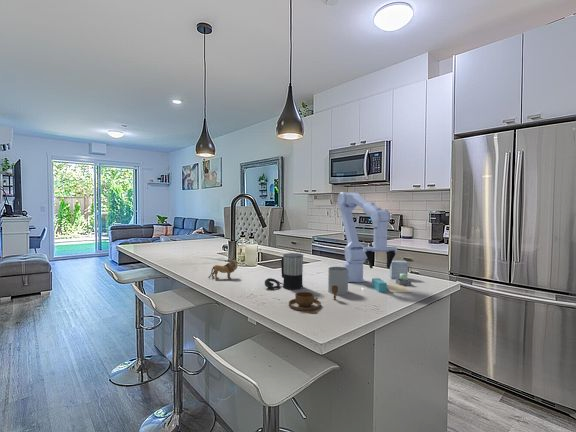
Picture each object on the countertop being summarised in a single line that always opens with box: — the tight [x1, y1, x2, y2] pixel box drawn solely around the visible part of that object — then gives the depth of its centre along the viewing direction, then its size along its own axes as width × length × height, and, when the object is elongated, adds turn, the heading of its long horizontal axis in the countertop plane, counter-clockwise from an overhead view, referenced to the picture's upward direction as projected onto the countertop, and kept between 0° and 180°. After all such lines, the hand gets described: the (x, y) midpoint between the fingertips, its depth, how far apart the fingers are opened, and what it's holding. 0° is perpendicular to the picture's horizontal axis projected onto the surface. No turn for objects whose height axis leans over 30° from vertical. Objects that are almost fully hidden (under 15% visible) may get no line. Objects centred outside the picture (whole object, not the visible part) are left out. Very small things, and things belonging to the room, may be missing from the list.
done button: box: [400, 273, 408, 281], centre depth 152 cm, size 3×3×3 cm
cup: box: [327, 266, 349, 295], centre depth 139 cm, size 8×8×10 cm
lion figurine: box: [207, 259, 239, 280], centre depth 163 cm, size 15×5×9 cm, turn 103°
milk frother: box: [264, 252, 304, 290], centre depth 145 cm, size 14×16×15 cm
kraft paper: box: [387, 284, 412, 293], centre depth 144 cm, size 9×12×1 cm
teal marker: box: [371, 277, 388, 293], centre depth 144 cm, size 3×11×4 cm, turn 4°
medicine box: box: [389, 260, 409, 280], centre depth 164 cm, size 8×4×9 cm, turn 84°
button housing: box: [395, 278, 412, 286], centre depth 152 cm, size 5×5×2 cm
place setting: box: [288, 285, 338, 315], centre depth 120 cm, size 18×20×6 cm
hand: (379, 268), depth 143 cm, fingers open, 7 cm apart
